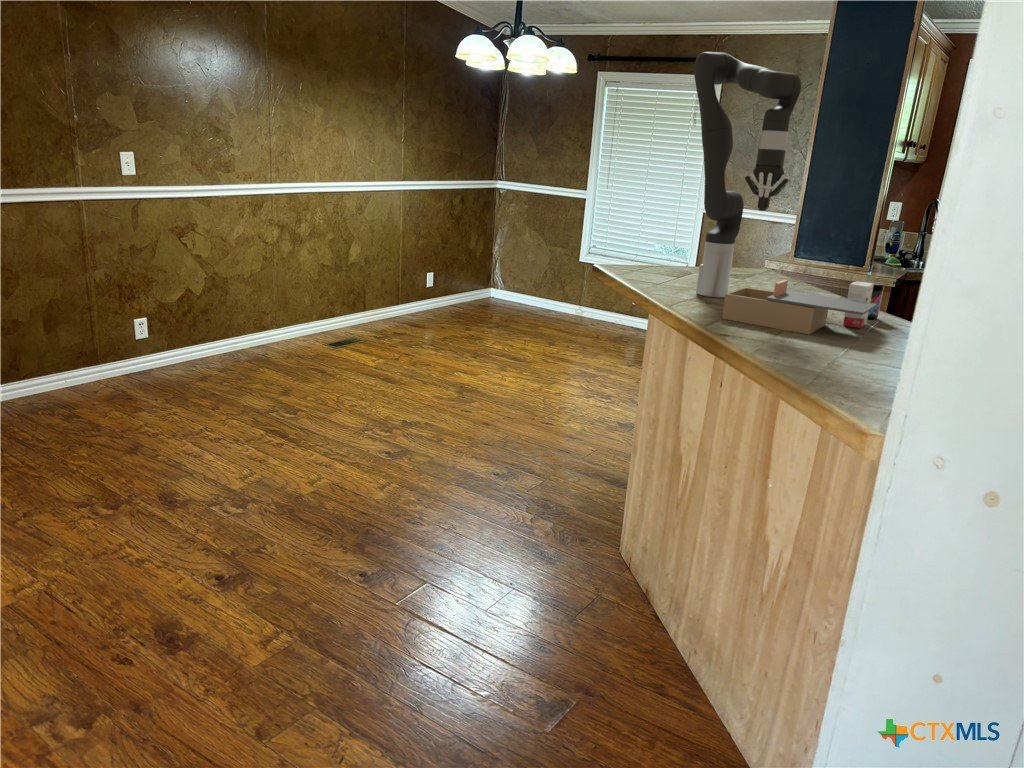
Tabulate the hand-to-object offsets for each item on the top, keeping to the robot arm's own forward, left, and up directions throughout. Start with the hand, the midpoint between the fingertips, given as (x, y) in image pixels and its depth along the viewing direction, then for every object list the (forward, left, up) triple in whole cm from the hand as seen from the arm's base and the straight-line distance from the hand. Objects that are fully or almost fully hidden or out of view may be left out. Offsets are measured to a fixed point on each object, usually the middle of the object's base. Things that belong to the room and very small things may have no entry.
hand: (762, 210), depth 213 cm
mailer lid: (+24, -13, -22) cm, 35 cm away
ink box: (+30, +2, -29) cm, 42 cm away
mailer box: (+12, -13, -29) cm, 34 cm away
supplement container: (+30, +16, -29) cm, 45 cm away
